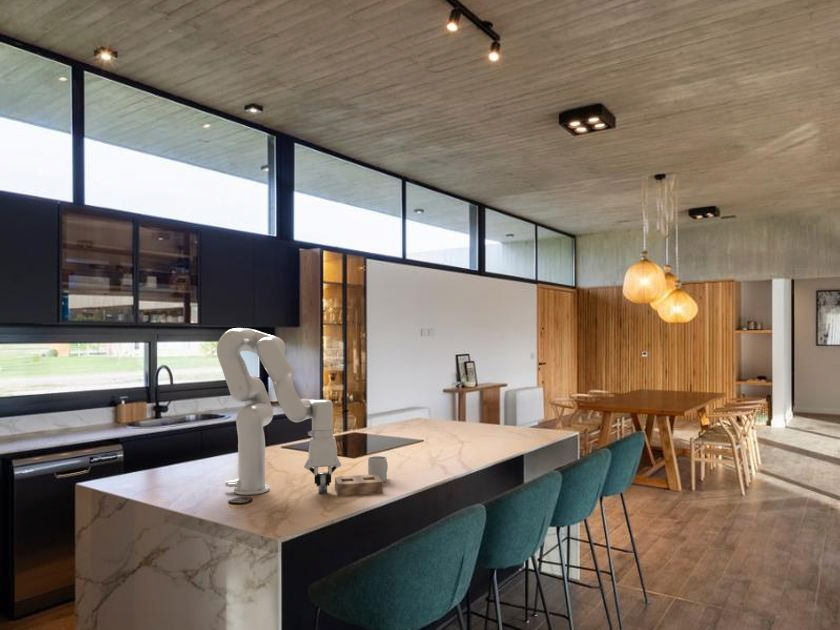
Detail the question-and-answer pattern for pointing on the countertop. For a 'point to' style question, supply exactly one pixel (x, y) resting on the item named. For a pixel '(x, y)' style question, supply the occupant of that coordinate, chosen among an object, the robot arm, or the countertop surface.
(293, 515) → the countertop surface
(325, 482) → the dowel
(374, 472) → the cup
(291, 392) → the robot arm
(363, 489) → the bore block
